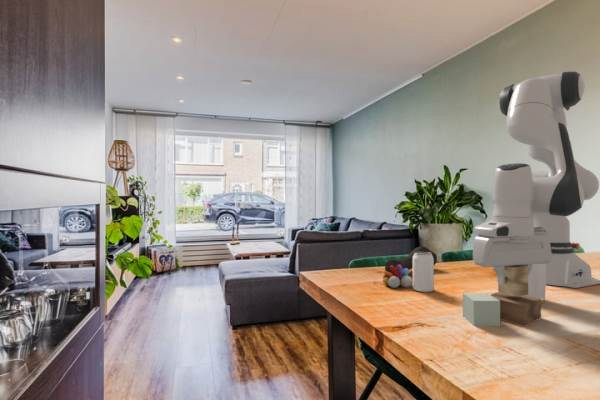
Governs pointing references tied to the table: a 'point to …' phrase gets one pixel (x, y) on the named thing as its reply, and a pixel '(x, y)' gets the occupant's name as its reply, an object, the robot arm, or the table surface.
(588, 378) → the table surface
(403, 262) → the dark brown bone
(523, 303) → the walnut block
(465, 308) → the sage block
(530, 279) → the cup
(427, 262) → the can
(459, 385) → the table surface
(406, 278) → the colorful ball cluster
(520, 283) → the oak block
